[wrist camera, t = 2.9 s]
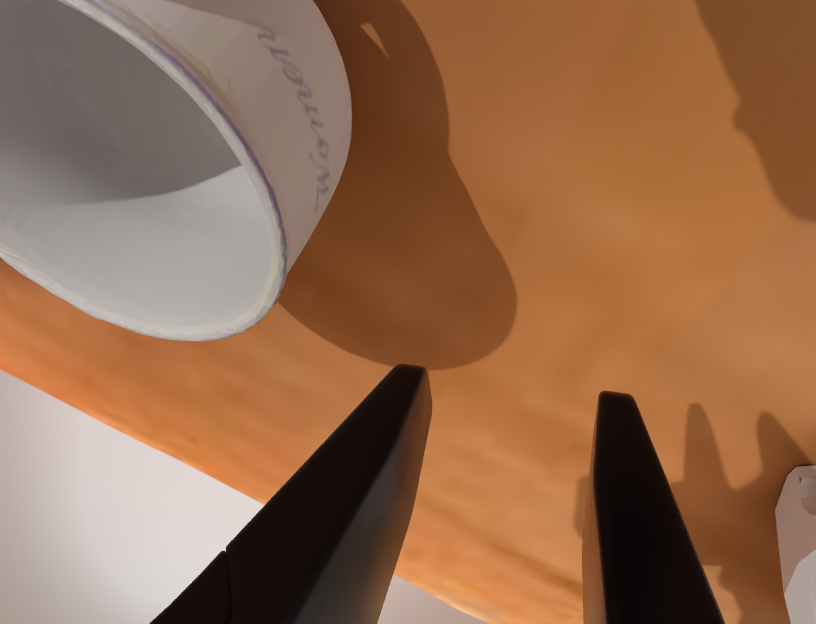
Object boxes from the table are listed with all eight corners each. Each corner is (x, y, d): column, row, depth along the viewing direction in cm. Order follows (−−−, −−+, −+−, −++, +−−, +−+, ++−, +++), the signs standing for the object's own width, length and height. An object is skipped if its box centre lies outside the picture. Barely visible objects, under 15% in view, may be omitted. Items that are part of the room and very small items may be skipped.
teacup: (312, 232, 27) (224, 396, 21) (44, 84, 25) (-125, 224, 19) (506, -120, 16) (427, 29, 11) (74, -421, 14) (-265, -410, 9)
